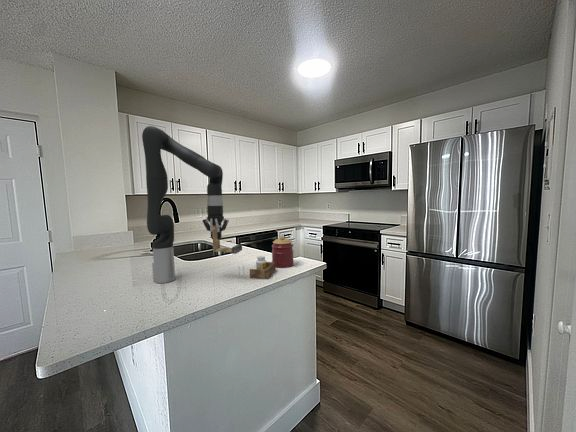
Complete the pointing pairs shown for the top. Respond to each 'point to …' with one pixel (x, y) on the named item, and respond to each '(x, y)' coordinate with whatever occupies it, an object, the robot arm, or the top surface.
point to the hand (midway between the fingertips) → (216, 239)
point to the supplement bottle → (261, 262)
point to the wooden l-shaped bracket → (217, 244)
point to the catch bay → (263, 271)
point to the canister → (282, 252)
